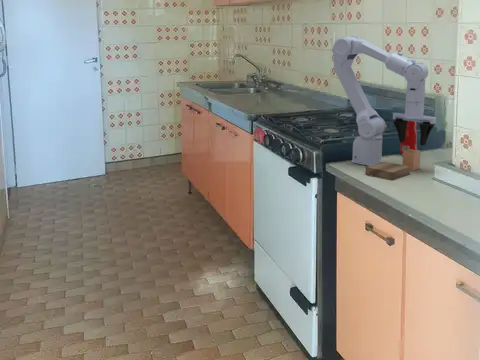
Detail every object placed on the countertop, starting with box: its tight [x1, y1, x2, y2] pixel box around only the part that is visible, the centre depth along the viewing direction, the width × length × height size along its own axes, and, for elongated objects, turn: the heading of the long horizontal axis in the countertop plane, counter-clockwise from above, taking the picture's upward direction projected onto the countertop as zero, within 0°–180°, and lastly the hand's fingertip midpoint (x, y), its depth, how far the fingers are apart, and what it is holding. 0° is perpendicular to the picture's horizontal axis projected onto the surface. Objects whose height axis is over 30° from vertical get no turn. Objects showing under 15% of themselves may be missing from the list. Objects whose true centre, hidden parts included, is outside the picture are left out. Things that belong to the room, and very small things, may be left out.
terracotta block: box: [401, 149, 422, 171], centre depth 188 cm, size 4×4×6 cm
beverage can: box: [399, 119, 418, 156], centre depth 206 cm, size 6×6×15 cm
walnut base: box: [364, 161, 411, 181], centre depth 182 cm, size 10×10×2 cm
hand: (412, 143), depth 187 cm, fingers open, 7 cm apart
